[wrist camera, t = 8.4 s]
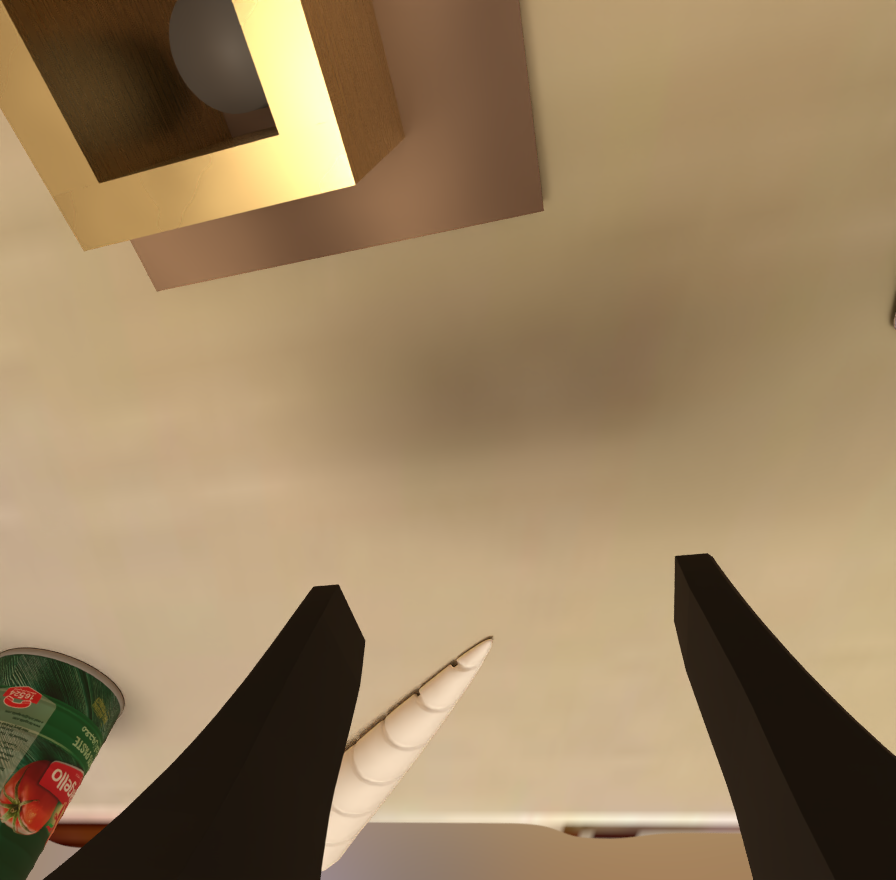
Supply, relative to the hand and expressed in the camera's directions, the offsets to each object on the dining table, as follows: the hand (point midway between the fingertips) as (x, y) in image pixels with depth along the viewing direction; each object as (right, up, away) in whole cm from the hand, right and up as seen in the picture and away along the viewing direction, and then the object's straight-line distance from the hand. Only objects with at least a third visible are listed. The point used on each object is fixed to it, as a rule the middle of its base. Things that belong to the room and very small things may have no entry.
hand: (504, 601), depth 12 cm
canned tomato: (-25, -11, +22) cm, 35 cm away
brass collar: (-6, +13, +1) cm, 14 cm away
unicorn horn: (-6, -15, +23) cm, 28 cm away
